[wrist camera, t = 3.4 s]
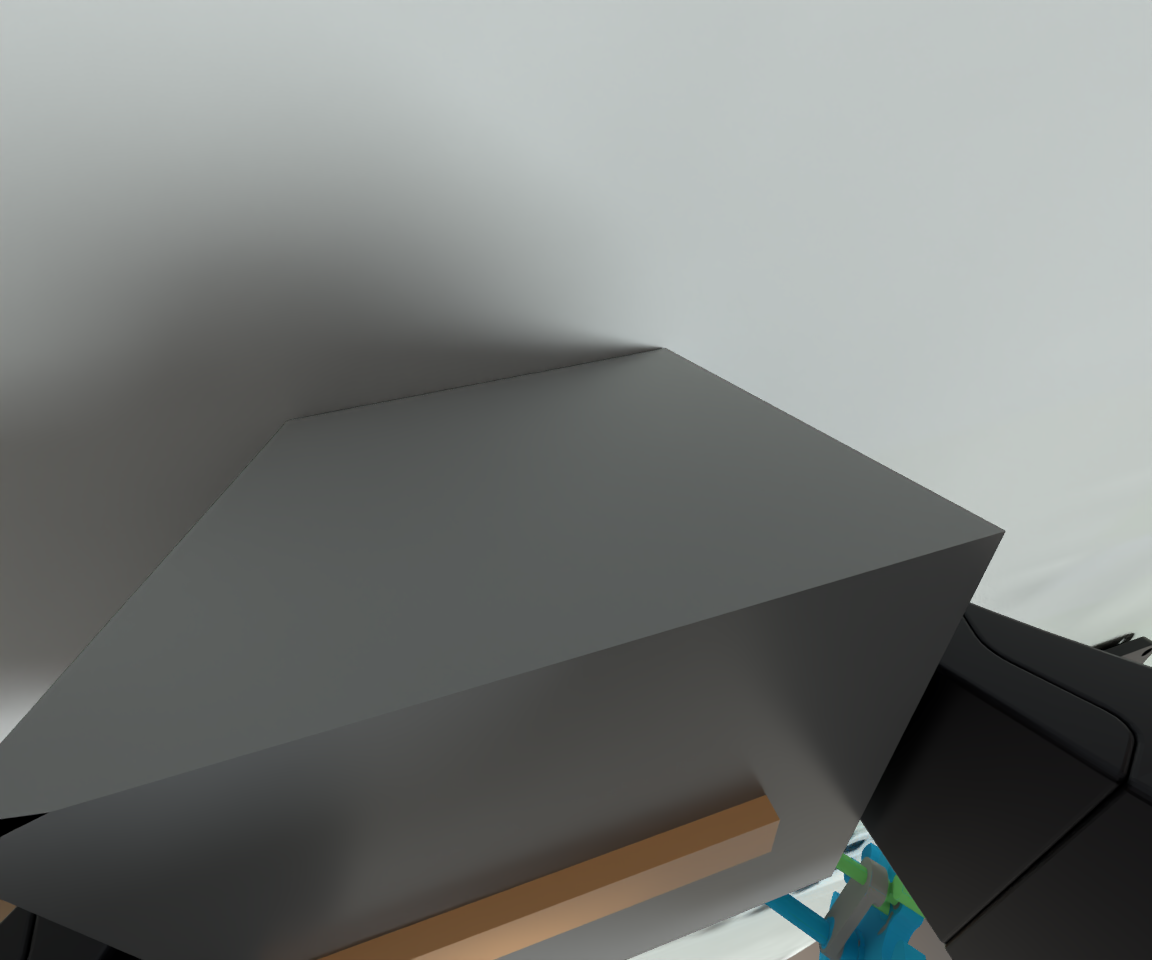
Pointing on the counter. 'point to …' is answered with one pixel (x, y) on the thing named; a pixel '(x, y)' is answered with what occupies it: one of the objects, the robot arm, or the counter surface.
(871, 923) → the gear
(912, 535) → the grey box with handle
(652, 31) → the counter surface
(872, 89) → the counter surface
